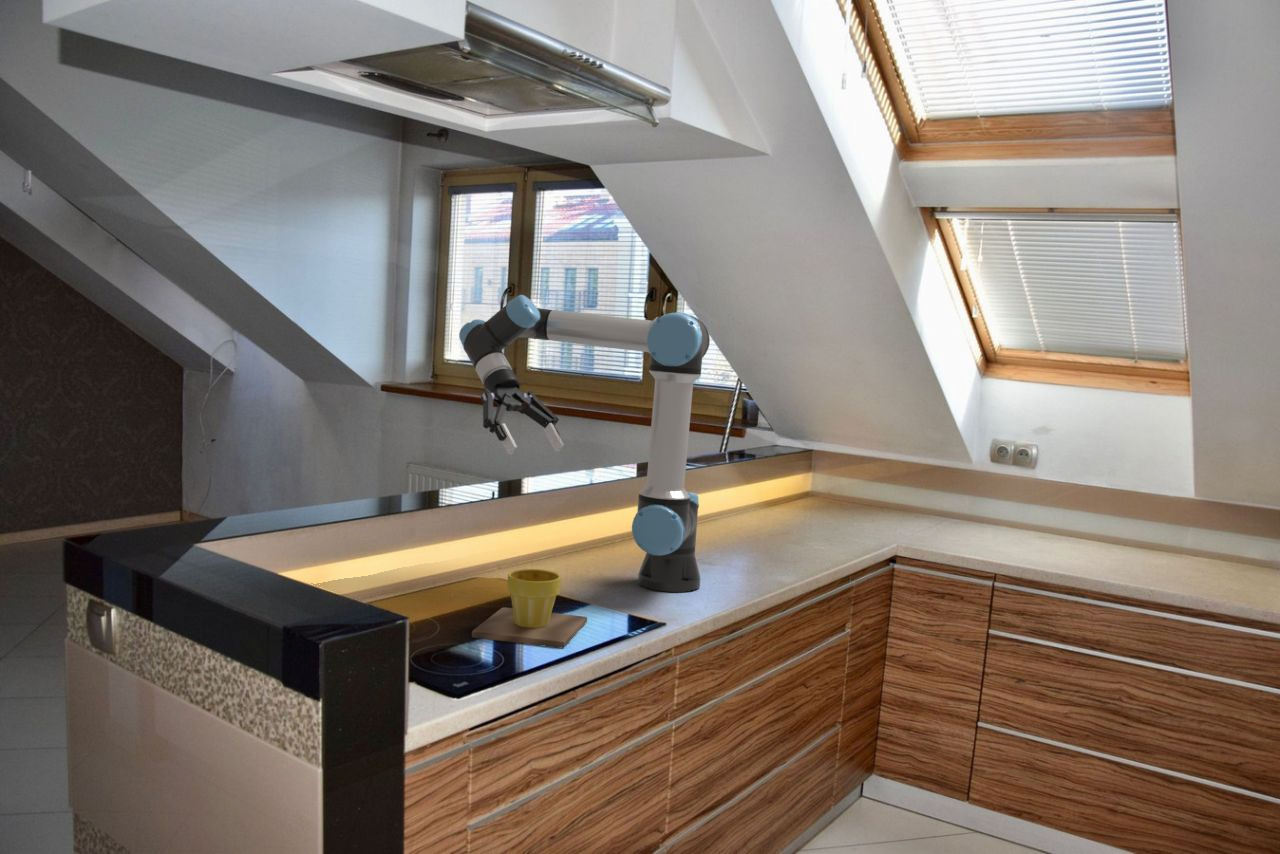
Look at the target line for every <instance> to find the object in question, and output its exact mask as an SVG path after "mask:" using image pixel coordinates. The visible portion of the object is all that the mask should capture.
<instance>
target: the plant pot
mask: <svg viewBox="0 0 1280 854" xmlns="http://www.w3.org/2000/svg"><path fill="white" fill-rule="evenodd" d="M561 583H562V576H561V575H560V574H559V573H558V572H556V571H552V570H550V569H549V570H547V569H540V568H519V569H515V570H512V571H510V572H509V573H508V575H507V583H506V584H507V585H506V587H507V592H508V593H509V594H510V599H511V608H513V614H514V621H515V624H516V625H518V626H521V627H526V628H541V627H544V626H546V625H548V623H549V619H550V616H551V613H553V612H552V611H553V607H554V604H555V601H556V598H557V596H558V595H559V594H560V593H561Z"/></svg>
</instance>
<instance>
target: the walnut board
mask: <svg viewBox="0 0 1280 854" xmlns="http://www.w3.org/2000/svg"><path fill="white" fill-rule="evenodd" d="M586 622H587V623H588V616H582V615H574V614H566V613H559V612H557V613H556V612H551V616H550V619H549V623H548V625H546V626H544V627H541V628H526V627H521V626H518V625H516V624H515V621H514V614H513V607H505V606H504V607H501V608H500V609H499V610H497V611H496V612H495V613H493V614H492V615H491V616H490V617H488V618H487V619H486V620H484V621H483V622H482V623H480V624H479V625H478V626H477V627H476V628H474V629H473V630H472V631H471V638H475V639H483V640H491V641H499V642H507V643H508V642H509V643H514V644H525V645H532V646H533V645H534V646H540V645H545V646H544V647H548V646H553V647H552V648H557V647H562V648H561V649H565V648H566V647H567V646H568V645H569V643H570V642H571V641H572V640H573V639H574V638H575V637H576V635H577V634H578V633H579V632H580V631H581V630H582V629H583V628H584V627H585V625H586V624H587V623H586ZM585 623H586V624H585ZM581 628H582V629H581ZM580 629H581V630H580ZM579 630H580V631H579ZM578 631H579V632H578ZM577 632H578V633H577ZM576 633H577V634H576ZM575 634H576V635H575ZM574 636H575V637H574ZM573 637H574V638H573ZM572 638H573V639H572ZM571 639H572V640H571ZM570 640H571V641H570ZM569 641H570V642H569ZM567 644H568V645H567ZM566 645H567V646H566ZM565 646H566V647H565ZM564 647H565V648H564Z"/></svg>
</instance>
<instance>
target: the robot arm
mask: <svg viewBox="0 0 1280 854" xmlns="http://www.w3.org/2000/svg"><path fill="white" fill-rule="evenodd" d="M709 333H710V332H709V330H708V328H707V327H706V325H705V324H704V323H703V321H701V320H700V319H699V318H697V317H695V316H692V315H689V314H687V313H683V312H671V313H669V312H668V313H666V314H663V315H662V316H657V317H655V318H654V319H653V320H648V319H639V318H633V317H632V318H631V317H630V318H629V317H622V316H621V317H620V316H614V315H604V314H603V315H602V314H595V313H594V314H593V313H586V312H585V313H584V312H577V311H566V310H558V309H557V310H556V309H548V308H541V307H540V308H539V307H537V306H536V305H535V304H534V302H533V301H532V300H531V299H530V298H528V297H527V296H526V295H524V294H520V295H517V296H516V297H515V298H513V299H511V300H509V301H508V302H507V303H506V304H505V305H504V306H502V308H501V309H499V310H498V311H497V312H496V313H494V315H492V316H491V317H490V318H489V319H487V321H485V320H483V319H478V318H477V319H473V320H471V322H466V323H464V325H463V326H462V327H461V329H460V331H459V334H458V337H459V338H458V339H459V340H460V342H461V344H462V347H463V350H464V352H465V353H466V355H467V357H468V359H469V361H470V362H471V364H472V365H473V367H474V370H475V372H476V373H477V375H478V377H479V379H480V381H481V383H482V385H483V387H484V388H485V391H484V392H483V394H482V395H481V396H480V400H481V402H482V405H483V406H482V407H483V408H482V416H483V417H482V423H483V424H482V426H483V428H484V429H488V428H489V432H490V433H492V434H495V436H496V437H497V439H498V440H499V441H501V444H502V446H503V448H504V449H505V451H506V453H507V455H512V454H513V453H514V452H515V451H516V449H517V448H518V445H517V444H516V442H515V440H514V438H513V436H512V434H511V432H510V430H509V428H508V427H507V425H506V423H502V422H503V418H504V415H505V412H519V413H520V414H522V415H523V414H524V415H525V416H527V417H529V418H530V419H532V420H533V421H534V422H535V423H537V424H538V425H540V426H541V427H543V428H544V429H543V432H544V434H545V436H546V438H547V439H548V441H549V443H550V445H551V447H552V449H553V450H554V452H555V453H556V454H557V453H559V452H561V450H562V449H563V448H564V446H565V443H564V442H563V441H562V438H561V437H560V433H559V431H558V429H557V427H556V425H557V424H558V422H559V421H560V419H559V417H558V416H557V415H556V414H554V413H553V411H552V410H550V409H549V408H548V407H547V406H546V405H545V404H544V403H543V402H542V401H541V400H540V399H539V398H538V397H537V396H536V395H535V393H534V392H533V391H532V390H528V392H527V393H526V392H522V390H521V389H520V381H519V379H518V377H517V375H516V374H515V372H514V371H513V368H512V365H510V363H509V361H508V360H507V357H506V356H505V354H504V352H503V350H504V349H506V348H507V347H508V346H510V345H511V344H512V343H513V342H514V341H515V340H517V339H518V338H525V339H526V338H527V339H532V340H542V341H551V342H552V341H553V342H560V343H570V344H577V345H587V346H594V347H602V348H608V349H619V350H626V351H634V352H644V353H649V355H650V356H649V367H648V369H649V370H648V372H649V373H650V375H651V376H652V377H653V378H654V390H653V401H652V403H653V404H652V413H651V425H650V436H649V437H650V438H649V449H648V450H649V451H648V461H647V462H648V464H647V474H646V484H645V486H644V487H643V488H642V489H640V490H639V492H638V500H637V501H638V502H637V510H636V511H637V513H636V514H635V515H634V517H633V520H632V525H631V534H632V538H633V540H634V542H635V544H636V545H637V546H638V547H639V548H640V549H641V550H642V551H644V552H645V556H644V558H643V560H642V564H641V565H640V569H639V571H638V574H637V584H638V585H640V586H641V587H643V588H646V589H649V590H655V591H660V592H667V593H668V592H669V593H671V592H672V593H683V592H685V593H686V591H687V592H692V591H691V590H693V591H696V590H695V589H697V590H699V589H700V588H701V574H700V571H699V566H698V562H697V558H696V542H697V528H698V517H699V516H698V515H699V514H698V513H699V508H700V504H699V495H698V494H697V493H696V492H690V491H687V490H686V488H685V482H686V469H687V460H688V459H687V458H688V457H687V456H688V448H689V436H690V425H691V423H690V422H691V415H692V413H691V411H692V399H693V389H694V383H695V381H697V380H698V379H699V378H700V377H701V376H702V374H701V373H702V365H703V358H704V356H706V354H707V352H708V351H709V347H710V334H709ZM494 403H495V404H497V407H496V410H495V415H494ZM524 404H525V405H524ZM699 587H700V588H699Z"/></svg>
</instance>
